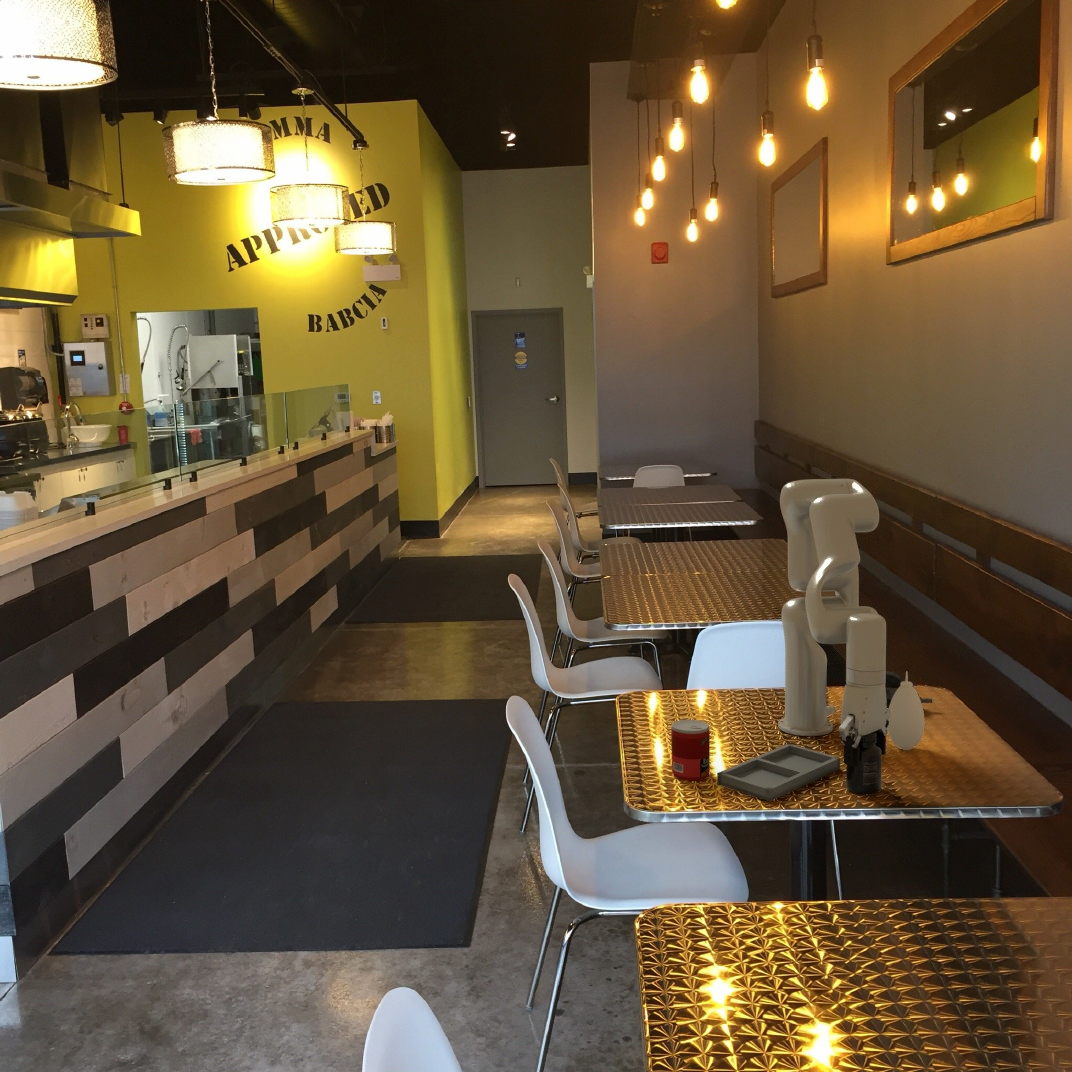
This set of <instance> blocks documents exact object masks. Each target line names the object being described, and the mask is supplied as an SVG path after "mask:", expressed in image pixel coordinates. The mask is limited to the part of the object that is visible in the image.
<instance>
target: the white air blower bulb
mask: <svg viewBox="0 0 1072 1072" xmlns="http://www.w3.org/2000/svg"><path fill="white" fill-rule="evenodd" d="M908 674H909V673H908V670H906V672H905V680H903V682H901V683H900V685H901V686H900V687H899V688H898V689H897V690H896V692H895V694H894V696H893V698H892V700H891V703H890V706H889V710H890V711H891V714H890V717H889V720H888V721H889V725H888V727H887V734H888V736H889V739H890V740H891V743H893V745H895V746H896V747H897V748H898V749H900V750H901V749H903V750H902V751H905V750H908V751H910V750H913V749H914V747H917V746H918V745H919V743H920V742H921V741H922V740H921V739H922V738H923V735H924V732H925V731H924V730H925V713H924V707H923V703H922V704H921V701H920V698H919V697H920V695H919V696H918V694H919V693H918V692H917V690H916V689H915V688H914V684H913V682H912V681H909V675H908ZM912 686H913V687H912ZM917 693H918V694H917Z"/></svg>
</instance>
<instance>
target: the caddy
mask: <svg viewBox="0 0 1072 1072" xmlns="http://www.w3.org/2000/svg"><path fill="white" fill-rule="evenodd" d="M839 770H841V757H838V756H835V755H833V754H832V755H831V754H828V753H825V752H820V751H817V750H813V749H810V748H806V747H802V746H798V745H796V744H795V745H794V744H792V743H787V744H784V745H782V746H780V747H777V748H775V749H774V748H773V749H772V750H769V751H767V752H765V753H763V754H760V755H758V756H755V757H752V758H751V759H748V760H745V761H743V762H741V763H739V764H735V765H734V766H732V767H728V768H726V769H724V770H722V771H718V772H717V775H716V778H717V779H716V781H717V782H716V783H717V786H719V787H723V788H726V789H729V790H733V791H735V792H738V791H740V792H739V793H741V792H743V793H742V794H744V793H745V794H744V795H747V794H748V795H747V796H750V795H751V796H750V797H753V796H754V798H756V797H758V798H757V799H759V798H761V799H760V800H762V799H764V800H763V801H765V800H768V801H771V800H773V801H775V800H777V799H779V798H781V797H784V796H786V795H787V794H790V793H792V792H794V791H796V790H798V789H800V788H803V787H805V786H807V785H809V784H811V783H813V782H815V781H817V780H819V779H822V778H824V777H826V776H828V775H831V774H832V773H835V772H837V771H839ZM791 791H792V792H791ZM789 792H790V793H789ZM785 794H786V795H785ZM780 796H781V797H780ZM778 797H779V798H778ZM776 798H777V799H776ZM774 799H775V800H774ZM768 801H767V802H768ZM771 802H772V801H771Z"/></svg>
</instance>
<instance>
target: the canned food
mask: <svg viewBox="0 0 1072 1072" xmlns="http://www.w3.org/2000/svg"><path fill="white" fill-rule="evenodd" d="M670 727H671V772H672V775H673V777H674V778H676V779H677V780H682V781H686V782H700V781H702V780H706V779H708V777H709V776H710V769H711V768H710V765H711V763H710V761H711V760H710V759H711V758H710V750H711V749H710V748H711V747H710V742H711V741H710V739H711V738H710V735H711V734H710V724H709V723H707V722H706V721H703V720H700V719H679V720H675V721H674V722H672V723H671V726H670Z"/></svg>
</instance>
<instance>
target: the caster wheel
mask: <svg viewBox="0 0 1072 1072" xmlns="http://www.w3.org/2000/svg"><path fill="white" fill-rule="evenodd" d="M903 681H904V679H903V678H902V677H901V675H899V674H897V673H895V672H892V671H887V670H886V682H885V689H886V701H887V708H889V706H890V703H891V700H892V698H893V696H894V694H895V692H896V690H897V689H898V688H899V687H900V686H901V685H900V683H901V682H903ZM912 687H913V688H914V685H913V686H912ZM917 694H918V696H919V698H920V701H921V704H922V705H923V704H929V703H930V704H932V703H933V698H931V697H930V698H929V697H927V698H926V697H925V698H922V697H921V696H920V694H919V693H918V692H917Z"/></svg>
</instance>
